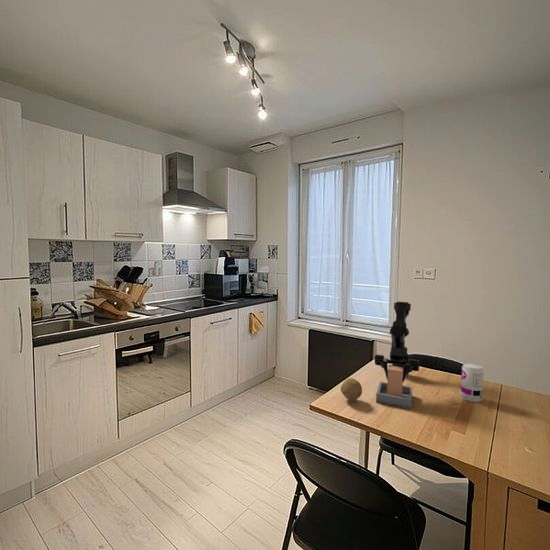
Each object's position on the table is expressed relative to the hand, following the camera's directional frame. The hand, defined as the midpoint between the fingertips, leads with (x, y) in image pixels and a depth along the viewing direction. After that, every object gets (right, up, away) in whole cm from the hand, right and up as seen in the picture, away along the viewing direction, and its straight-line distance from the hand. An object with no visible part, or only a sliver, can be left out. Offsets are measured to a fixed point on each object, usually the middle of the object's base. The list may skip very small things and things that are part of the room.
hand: (395, 380), depth 139 cm
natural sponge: (-19, -9, -1) cm, 21 cm away
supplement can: (+35, -9, +3) cm, 37 cm away
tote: (0, -9, +2) cm, 9 cm away
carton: (0, -7, +2) cm, 7 cm away
